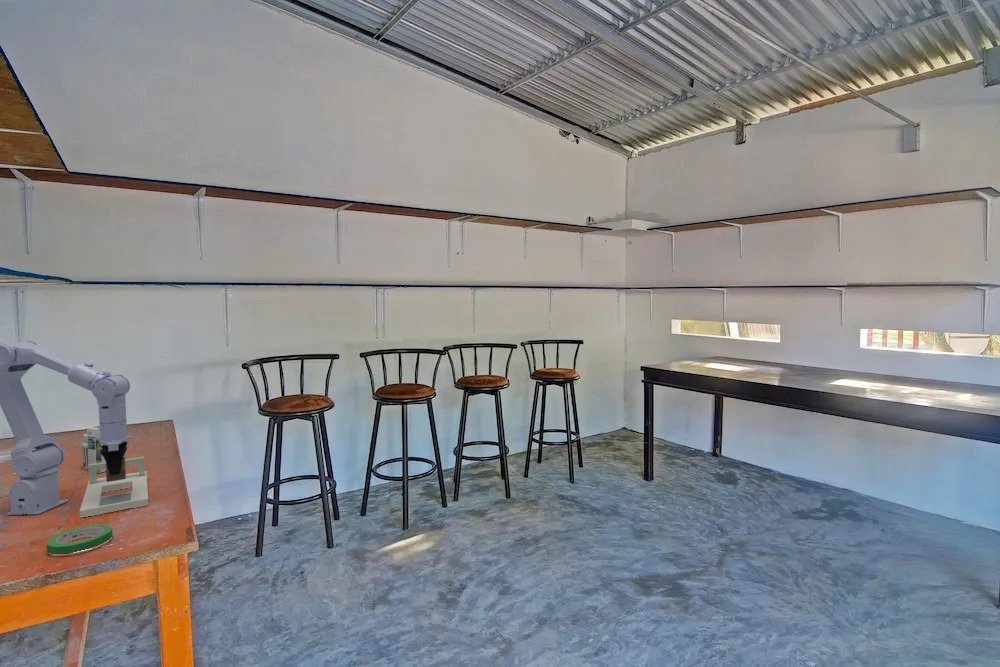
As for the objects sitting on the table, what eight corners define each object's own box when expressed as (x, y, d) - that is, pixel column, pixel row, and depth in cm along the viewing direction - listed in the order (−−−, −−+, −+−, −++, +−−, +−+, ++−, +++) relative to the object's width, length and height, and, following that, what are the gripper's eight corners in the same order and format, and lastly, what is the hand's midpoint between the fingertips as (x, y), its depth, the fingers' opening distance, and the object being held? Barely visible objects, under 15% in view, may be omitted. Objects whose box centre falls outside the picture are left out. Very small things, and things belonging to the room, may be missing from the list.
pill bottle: (111, 464, 173) (109, 431, 172) (93, 470, 167) (91, 436, 166) (96, 463, 174) (94, 431, 174) (78, 469, 168) (76, 435, 168)
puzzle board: (148, 506, 135) (148, 497, 135) (79, 518, 127) (79, 509, 126) (146, 477, 159) (146, 470, 159) (89, 486, 151) (89, 478, 151)
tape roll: (43, 563, 104) (43, 550, 104) (50, 544, 113) (50, 532, 113) (111, 548, 111) (111, 536, 111) (113, 531, 120) (112, 520, 120)
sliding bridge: (144, 474, 154) (144, 457, 154) (89, 483, 147) (89, 465, 147) (144, 473, 156) (144, 456, 156) (90, 481, 148) (89, 464, 148)
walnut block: (125, 479, 135) (124, 460, 135) (106, 482, 133) (105, 463, 133) (125, 475, 139) (124, 457, 138) (107, 478, 136) (106, 459, 136)
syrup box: (87, 472, 165) (85, 427, 165) (107, 467, 171) (105, 424, 170) (98, 474, 163) (96, 429, 163) (118, 468, 169) (116, 425, 168)
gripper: (131, 423, 132) (134, 476, 132) (131, 415, 143) (133, 463, 144) (96, 427, 127) (99, 481, 128) (99, 418, 139) (101, 468, 140)
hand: (115, 472), depth 136 cm, fingers closed on walnut block, 4 cm apart
